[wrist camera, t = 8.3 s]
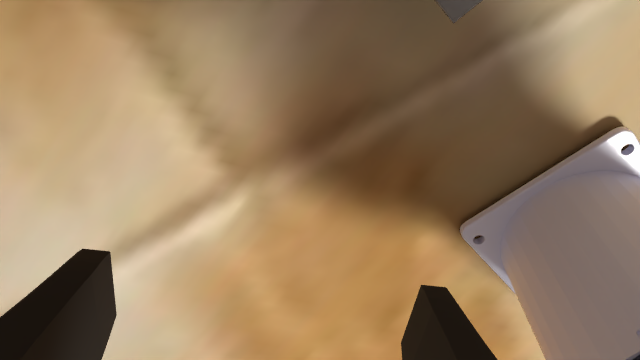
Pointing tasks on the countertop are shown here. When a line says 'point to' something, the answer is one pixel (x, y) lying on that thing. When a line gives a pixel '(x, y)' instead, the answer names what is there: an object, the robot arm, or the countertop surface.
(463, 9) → the camera body
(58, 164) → the countertop surface
